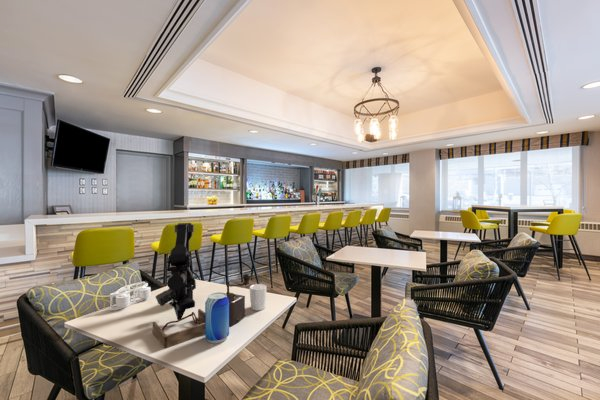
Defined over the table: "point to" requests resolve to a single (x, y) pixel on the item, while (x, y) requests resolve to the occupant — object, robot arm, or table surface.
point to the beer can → (217, 317)
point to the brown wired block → (180, 333)
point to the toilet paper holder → (124, 298)
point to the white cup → (258, 296)
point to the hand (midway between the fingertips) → (179, 319)
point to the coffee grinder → (236, 302)
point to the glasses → (184, 318)
